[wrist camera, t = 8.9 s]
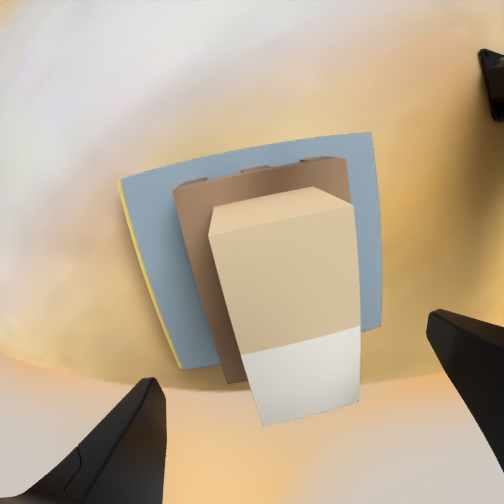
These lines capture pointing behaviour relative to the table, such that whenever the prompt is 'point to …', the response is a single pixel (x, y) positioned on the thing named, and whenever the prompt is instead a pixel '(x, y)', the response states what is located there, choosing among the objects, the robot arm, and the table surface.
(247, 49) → the table surface
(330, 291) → the tan carton
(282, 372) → the off-white carton
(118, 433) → the robot arm
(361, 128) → the table surface
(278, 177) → the pallet
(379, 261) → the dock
